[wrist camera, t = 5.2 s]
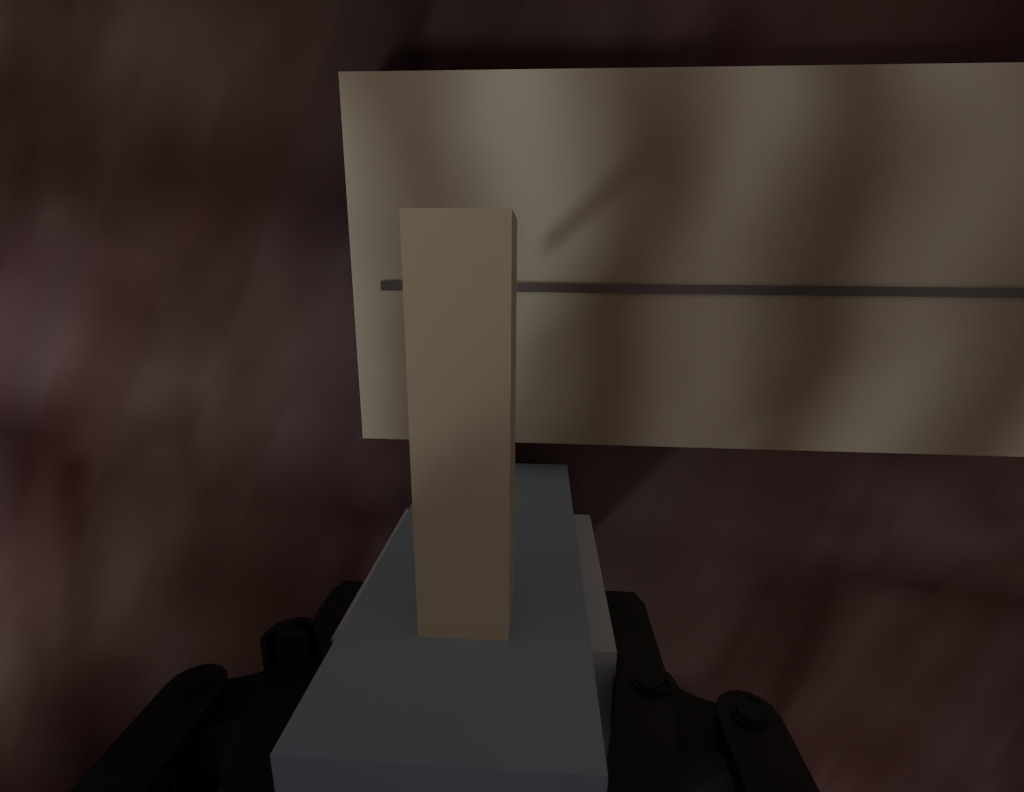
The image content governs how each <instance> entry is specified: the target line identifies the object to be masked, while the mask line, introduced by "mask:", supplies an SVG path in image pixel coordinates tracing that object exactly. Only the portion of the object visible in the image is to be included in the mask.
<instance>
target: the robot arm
mask: <svg viewBox="0 0 1024 792" xmlns="http://www.w3.org/2000/svg"><path fill="white" fill-rule="evenodd" d="M408 510H409V509H406V510H405V512H404V513H403V515H402V517H401V519H400V520H399V522H398V524H397V526H396V527H395V529H394V531H393V533H392V534H391V536H390V538H389V539H388V541H387V543H386V545H385V546H384V548H383V550H382V552H381V553H380V555H379V557H378V559H377V560H376V562H375V564H374V565H373V567H372V569H371V571H370V572H369V574H368V576H367V578H366V579H365V581H364V582H359V581H344V582H343V583H341V584H340V585H339V586H337V587H336V588H335V589H333V590H332V591H331V592H330V594H329V595H328V597H327V598H326V600H325V601H324V603H323V606H321V607H320V609H319V610H318V612H317V615H315V616H314V618H313V619H310V618H305V617H296V618H292V619H288V620H284V621H282V622H280V623H278V624H276V625H274V626H273V627H271V628H270V629H269V630H267V631H266V632H265V633H264V635H263V636H262V638H261V639H260V642H261V650H262V657H263V665H264V671H263V672H260V673H256V674H252V675H247V676H242V677H237V678H232V679H228V677H227V671H226V670H225V669H224V668H223V667H222V666H220V665H216V664H205V665H199V666H196V667H193V668H190V669H187V670H186V671H184V672H182V673H180V674H178V675H177V676H175V677H174V678H173V679H172V680H171V681H169V682H168V683H167V684H166V685H165V686H164V687H163V688H162V690H161V691H160V692H159V693H158V694H157V695H156V696H155V697H154V698H153V700H152V701H151V702H150V703H149V704H148V705H147V706H146V707H145V708H144V710H143V711H142V712H141V713H140V714H139V715H138V716H137V717H136V719H135V720H134V721H133V722H132V723H131V724H130V725H129V726H128V727H127V729H126V730H125V731H124V732H123V733H122V734H121V735H120V736H119V737H118V739H117V740H116V741H115V742H114V743H113V744H112V745H111V746H110V748H109V749H108V750H107V751H106V752H105V753H104V754H103V755H102V756H101V758H100V759H99V760H98V761H97V762H96V763H95V764H94V765H93V766H92V768H91V769H90V770H89V771H88V772H87V773H86V774H85V775H84V776H83V778H82V779H81V780H80V781H79V782H78V783H77V784H76V785H75V787H74V788H73V789H72V790H71V791H70V792H275V789H274V782H273V774H272V767H271V760H270V754H271V752H272V750H273V749H274V747H275V745H276V743H277V741H278V740H279V738H280V736H281V734H282V733H283V731H284V729H285V727H286V726H287V724H288V722H289V720H290V718H291V717H292V715H293V713H294V711H295V710H296V708H297V706H298V704H299V703H300V701H301V699H302V697H303V695H304V694H305V692H306V690H307V688H308V687H309V685H310V683H311V681H312V680H313V678H314V676H315V674H316V672H317V671H318V669H319V667H320V665H321V664H322V662H323V660H324V658H325V657H326V655H327V653H328V651H329V649H330V648H331V646H332V644H333V642H334V641H335V639H336V637H337V635H338V633H339V632H340V630H341V628H342V626H343V625H344V623H345V621H346V619H347V618H348V616H349V614H350V612H351V610H352V609H353V607H354V605H355V603H356V602H357V600H358V598H359V596H360V595H361V593H362V591H363V589H364V587H365V586H366V584H367V582H368V580H369V579H370V577H371V575H372V573H373V572H374V570H375V568H376V566H377V564H378V563H379V561H380V559H381V557H382V556H383V554H384V552H385V550H386V549H387V547H388V545H389V543H390V541H391V540H392V538H393V536H394V534H395V533H396V531H397V529H398V527H399V526H400V524H401V522H402V520H403V518H404V517H405V515H406V513H407V511H408ZM574 520H575V528H576V536H577V543H578V551H579V558H580V566H581V574H582V581H583V589H584V596H585V604H586V612H587V619H588V627H589V634H590V642H591V649H592V657H593V665H594V672H595V680H596V687H597V695H598V703H599V710H600V718H601V725H602V733H603V741H604V748H605V750H608V754H607V761H606V763H607V771H608V786H607V792H820V791H819V789H818V787H817V785H816V783H815V782H814V780H813V778H812V776H811V774H810V772H809V770H808V768H807V766H806V764H805V762H804V760H803V759H802V757H801V755H800V753H799V751H798V749H797V747H796V745H795V743H794V741H793V739H792V737H791V735H790V734H789V732H788V730H787V728H786V726H785V724H784V722H783V720H782V718H781V717H780V715H779V714H778V713H777V711H776V710H775V709H774V707H773V706H771V705H770V704H769V703H767V702H766V701H765V700H764V699H762V698H760V697H758V696H756V695H754V694H752V693H749V692H744V691H739V690H734V691H727V692H725V693H723V694H721V695H720V696H719V698H718V700H717V702H716V703H715V702H712V701H708V700H705V699H702V698H699V697H696V696H694V695H691V694H689V693H687V692H685V691H684V690H682V689H680V688H679V687H678V686H677V684H676V682H675V680H674V679H673V678H672V676H671V675H670V674H669V673H668V672H666V671H665V669H664V666H663V662H662V659H661V656H660V653H659V649H658V646H657V643H656V640H655V636H654V633H653V630H652V627H651V623H650V620H649V619H648V614H647V610H646V607H645V604H644V603H643V602H642V601H641V599H640V598H639V597H638V596H637V595H636V594H635V593H634V592H619V591H605V589H604V584H603V579H602V574H601V569H600V563H599V558H598V553H597V548H596V543H595V538H594V533H593V528H592V523H591V518H590V515H578V514H574Z"/></svg>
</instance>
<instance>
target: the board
mask: <svg viewBox="0 0 1024 792" xmlns="http://www.w3.org/2000/svg"><path fill="white" fill-rule="evenodd" d="M339 87H340V102H341V117H342V132H343V147H344V162H345V177H346V192H347V207H348V222H349V237H350V252H351V267H352V282H353V298H354V313H355V328H356V343H357V358H358V373H359V388H360V403H361V418H362V433H363V438H376V439H409V419H408V397H407V374H406V351H405V328H404V305H403V282H402V259H401V237H400V214H399V208H512V209H513V211H514V213H515V216H516V218H517V311H516V412H515V442H517V443H552V444H587V445H622V446H657V447H692V448H727V449H763V450H798V451H833V452H868V453H903V454H938V455H973V456H1009V457H1024V62H1010V63H937V64H864V65H792V66H719V67H647V68H574V69H501V70H429V71H356V72H339Z"/></svg>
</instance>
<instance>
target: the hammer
mask: <svg viewBox="0 0 1024 792" xmlns="http://www.w3.org/2000/svg"><path fill="white" fill-rule="evenodd" d="M399 214H400V237H401V259H402V282H403V305H404V328H405V351H406V374H407V397H408V419H409V442H410V465H411V488H412V504H411V506H410V508H409V510H408V511H407V513H406V515H405V517H404V518H403V520H402V522H401V524H400V526H399V527H398V529H397V531H396V533H395V534H394V536H393V538H392V540H391V541H390V543H389V545H388V547H387V549H386V550H385V552H384V554H383V556H382V557H381V559H380V561H379V563H378V564H377V566H376V568H375V570H374V572H373V573H372V575H371V577H370V579H369V580H368V582H367V584H366V586H365V587H364V589H363V591H362V593H361V595H360V596H359V598H358V600H357V602H356V603H355V605H354V607H353V609H352V610H351V612H350V614H349V616H348V618H347V619H346V621H345V623H344V625H343V626H342V628H341V630H340V632H339V633H338V635H337V637H336V639H335V641H334V642H333V644H332V646H331V648H330V649H329V651H328V653H327V655H326V657H325V658H324V660H323V662H322V664H321V665H320V667H319V669H318V671H317V672H316V674H315V676H314V678H313V680H312V681H311V683H310V685H309V687H308V688H307V690H306V692H305V694H304V695H303V697H302V699H301V701H300V703H299V704H298V706H297V708H296V710H295V711H294V713H293V715H292V717H291V718H290V720H289V722H288V724H287V726H286V727H285V729H284V731H283V733H282V734H281V736H280V738H279V740H278V741H277V743H276V745H275V747H274V749H273V750H272V752H271V754H270V760H271V767H272V774H273V782H274V789H275V792H607V786H608V771H607V763H606V756H605V748H604V741H603V733H602V725H601V718H600V710H599V703H598V695H597V687H596V680H595V672H594V665H593V657H592V649H591V642H590V634H589V627H588V619H587V612H586V604H585V596H584V589H583V581H582V574H581V566H580V558H579V551H578V543H577V536H576V528H575V520H574V513H573V505H572V498H571V490H570V482H569V475H568V467H567V465H560V464H526V463H515V412H516V311H517V218H516V216H515V213H514V211H513V209H512V208H399Z"/></svg>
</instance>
